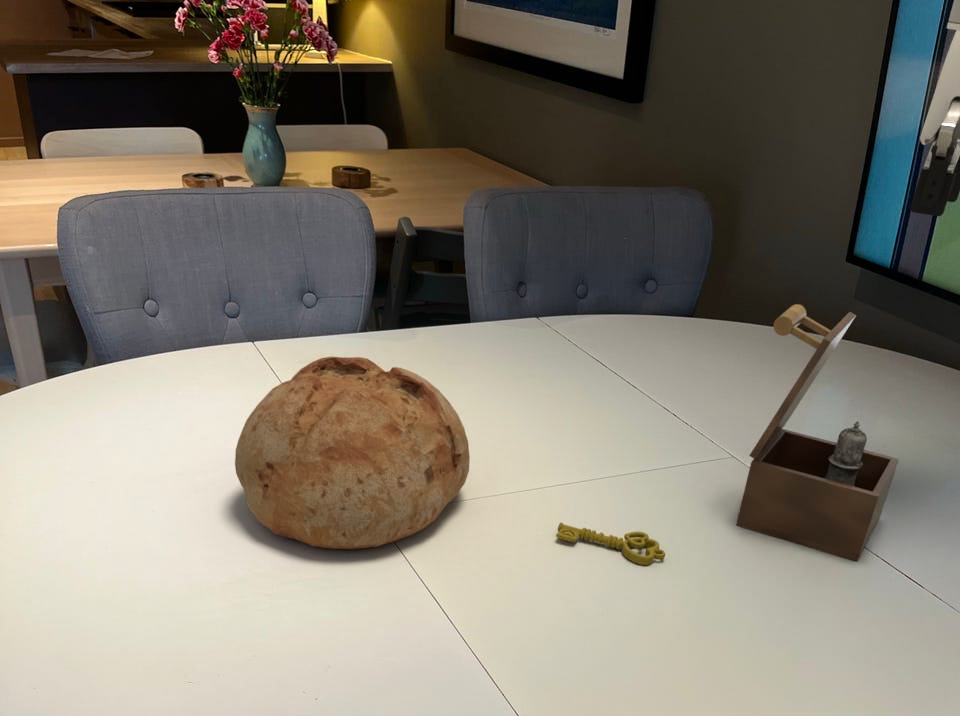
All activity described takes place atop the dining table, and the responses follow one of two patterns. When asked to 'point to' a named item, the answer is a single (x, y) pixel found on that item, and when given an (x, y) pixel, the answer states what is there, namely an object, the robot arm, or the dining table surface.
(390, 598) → the dining table surface
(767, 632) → the dining table surface
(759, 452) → the lid
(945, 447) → the dining table surface
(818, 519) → the box
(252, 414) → the bread
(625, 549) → the key
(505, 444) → the dining table surface
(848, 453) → the salt shaker
